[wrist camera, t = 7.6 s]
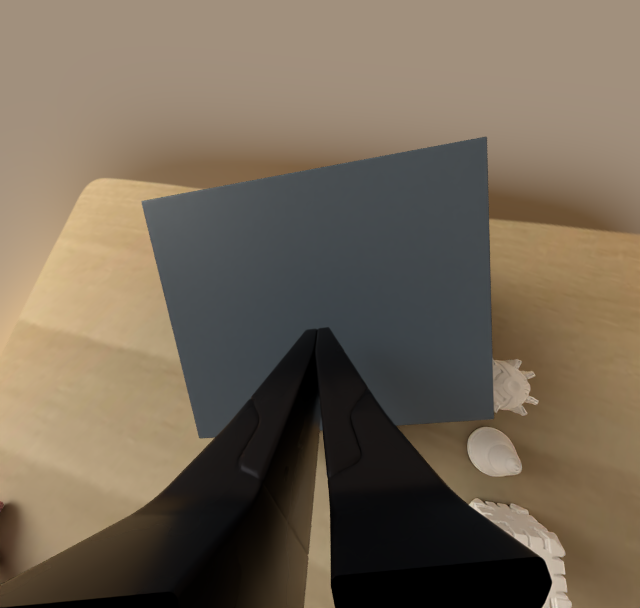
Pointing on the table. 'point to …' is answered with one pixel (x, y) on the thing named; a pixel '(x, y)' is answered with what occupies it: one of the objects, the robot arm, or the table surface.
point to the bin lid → (337, 281)
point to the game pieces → (501, 460)
